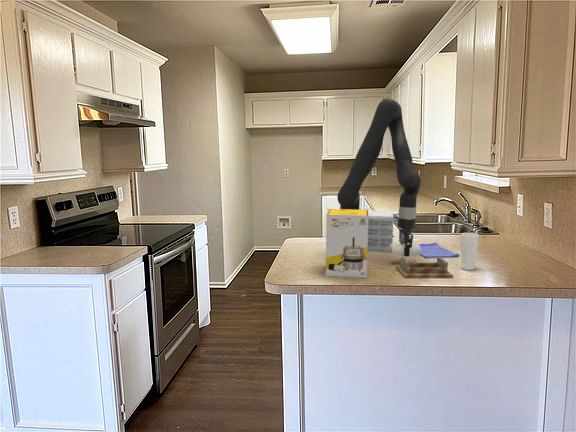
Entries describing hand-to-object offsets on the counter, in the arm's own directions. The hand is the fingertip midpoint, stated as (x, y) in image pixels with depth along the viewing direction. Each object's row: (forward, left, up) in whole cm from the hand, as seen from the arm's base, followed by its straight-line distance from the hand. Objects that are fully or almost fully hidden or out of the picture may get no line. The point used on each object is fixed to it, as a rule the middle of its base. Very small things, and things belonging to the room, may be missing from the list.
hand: (404, 254), depth 185 cm
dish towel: (+20, +21, -5) cm, 29 cm away
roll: (0, 0, -1) cm, 1 cm away
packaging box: (-27, -12, -4) cm, 30 cm away
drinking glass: (+25, -9, -4) cm, 27 cm away
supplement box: (-4, +31, -4) cm, 32 cm away
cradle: (+4, -15, -4) cm, 16 cm away
